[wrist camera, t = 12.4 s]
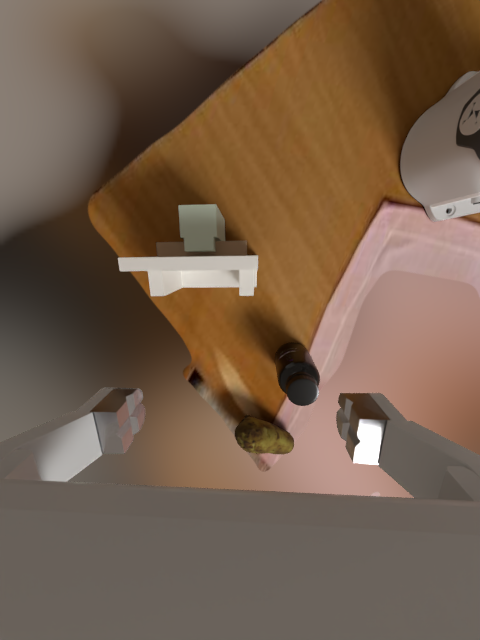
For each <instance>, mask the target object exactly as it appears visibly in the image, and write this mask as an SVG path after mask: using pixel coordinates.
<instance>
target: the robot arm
mask: <svg viewBox="0 0 480 640" xmlns="http://www.w3.org/2000/svg"><path fill="white" fill-rule="evenodd" d="M400 169H401V176H402V180H403V183H404V185H405V187H406V189H407V191H408V192H409V193H410V194H411V196H412V197H414V198H415V199H416V200H417V201H419V202H420V203H421V204H422V205H423V206H424V208H425V210H426V212H427V215H428V217H429V218H430V219H431V220H432V221H434V222H438V221H442V220H447V219H452V218H456V217H461V216H466V215H470V214H475V213H480V71H479V72H475V71H470V72H468V73H466V74H464V75H463V76H462V77H460V78H459V79H458V80H457V81H456V82H455V83H454V85H453V86H452V87H451V88H450V90H449V91H448V93H447V94H446V95H445V97H444V98H442V99H441V100H440V101H439V102H437V103H436V104H435V105H433V106H432V107H430V108H429V109H428V110H427V111H426V112H424V113H423V114H422V115H421V116H420V118H419V119H418V120H417V121H416V122H415V124H414V125H413V127H412V128H411V130H410V132H409V134H408V135H407V138H406V140H405V142H404V145H403V149H402V153H401V160H400ZM447 209H448V213H446V210H447ZM142 399H143V395H142V391H141V390H140V389H133V388H102V389H101V390H100V391H99V392H97V393H96V394H95V395H94V396H93V397H92V398H91V399H89V400H88V401H87V402H86V403H85V404H84V405H82V406H81V407H80V408H79V409H78V410H77V411H76V412H70V413H67V414H65V415H63V416H60V417H58V418H56V419H53V420H51V421H49V422H46V423H44V424H42V425H40V426H37V427H35V428H32V429H30V430H28V431H25V432H23V433H21V434H18V435H17V436H14V437H11V438H9V439H7V440H5V441H2V442H0V640H480V455H478V454H476V453H474V452H472V451H470V450H468V449H466V448H464V447H462V446H460V445H458V444H456V443H454V442H452V441H450V440H448V439H446V438H444V437H442V436H441V435H439V434H436V433H435V432H433V431H431V430H429V429H427V428H425V427H423V426H421V425H419V424H417V423H415V422H413V421H407V420H406V419H405V418H404V417H403V416H402V414H400V412H399V411H398V410H397V409H396V408H395V407H394V406H393V405H392V404H391V403H390V402H389V400H388V399H387V398H386V397H385V396H384V395H383V394H381V393H340V395H339V400H338V403H339V405H340V407H341V408H340V409H339V410H338V412H337V418H336V419H337V420H336V421H337V428H338V432H339V434H340V436H341V438H342V439H344V440H345V441H346V449H347V451H348V453H349V455H350V457H351V459H352V462H353V463H364V464H378V466H379V467H380V468H382V469H383V470H384V471H385V472H386V473H387V474H388V475H389V476H391V477H392V478H393V479H394V480H395V481H396V482H397V483H398V484H400V485H401V486H402V487H403V488H404V489H405V490H406V491H408V492H409V493H410V494H411V495H412V496H413V497H414V498H399V497H376V496H355V495H334V494H314V493H294V492H275V491H254V490H231V489H210V488H189V487H167V486H147V485H126V484H105V483H84V482H67V481H68V480H69V479H71V478H72V477H73V476H75V475H76V474H77V473H79V472H80V471H81V470H83V469H84V468H85V467H87V466H88V465H89V464H91V463H92V462H93V461H95V460H96V459H97V458H98V457H100V456H101V455H102V454H125V452H126V451H127V449H128V448H129V446H130V445H131V443H132V441H133V440H134V439H133V435H134V434H135V433H137V432H138V431H140V429H141V427H142V426H143V422H144V419H145V407H144V406H143V405H142V404H141V403H140V402H141V400H142Z"/></svg>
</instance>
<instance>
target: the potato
mask: <svg viewBox="0 0 480 640" xmlns="http://www.w3.org/2000/svg"><path fill="white" fill-rule="evenodd" d="M235 438H236V440H237V443H238V444H239V445H240V446H241V448H243V449H244V450H245V451H247V452H249V453H250V452H251V453H256V454H257V453H272V454H286V453H289V452H291V451H292V449H293V447H294V439H293V438H292V436H291V435H290V433H288V432H287V431H285V430H283V429H282V428H279V427H278V426H276V425H274V424H272V423H270V422H267V421H263V420H260V419H257V418H254V417H251V416H250V415H246V416H245V418H244V419H243V420H242V421H241V422H240V423H239V425H238V426H237V427H236V429H235Z"/></svg>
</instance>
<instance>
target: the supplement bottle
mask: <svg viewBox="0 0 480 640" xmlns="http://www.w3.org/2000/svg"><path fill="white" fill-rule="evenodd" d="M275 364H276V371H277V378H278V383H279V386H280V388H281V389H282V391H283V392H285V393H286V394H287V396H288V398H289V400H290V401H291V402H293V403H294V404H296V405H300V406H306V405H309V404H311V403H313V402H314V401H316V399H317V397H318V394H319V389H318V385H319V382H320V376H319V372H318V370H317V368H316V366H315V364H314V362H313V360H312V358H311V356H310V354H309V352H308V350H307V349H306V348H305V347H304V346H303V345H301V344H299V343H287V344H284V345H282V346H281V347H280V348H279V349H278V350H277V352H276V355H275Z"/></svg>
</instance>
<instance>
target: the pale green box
mask: <svg viewBox="0 0 480 640" xmlns="http://www.w3.org/2000/svg"><path fill="white" fill-rule="evenodd" d="M178 208H179V224H180V237H181V238H183V239H184V248H185V251H186V252H216V250H215V241H225V219H224V218H223V216H222V214H221V212H220V210H219V209H218V207H217V205H216V204H207V205H178Z"/></svg>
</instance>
